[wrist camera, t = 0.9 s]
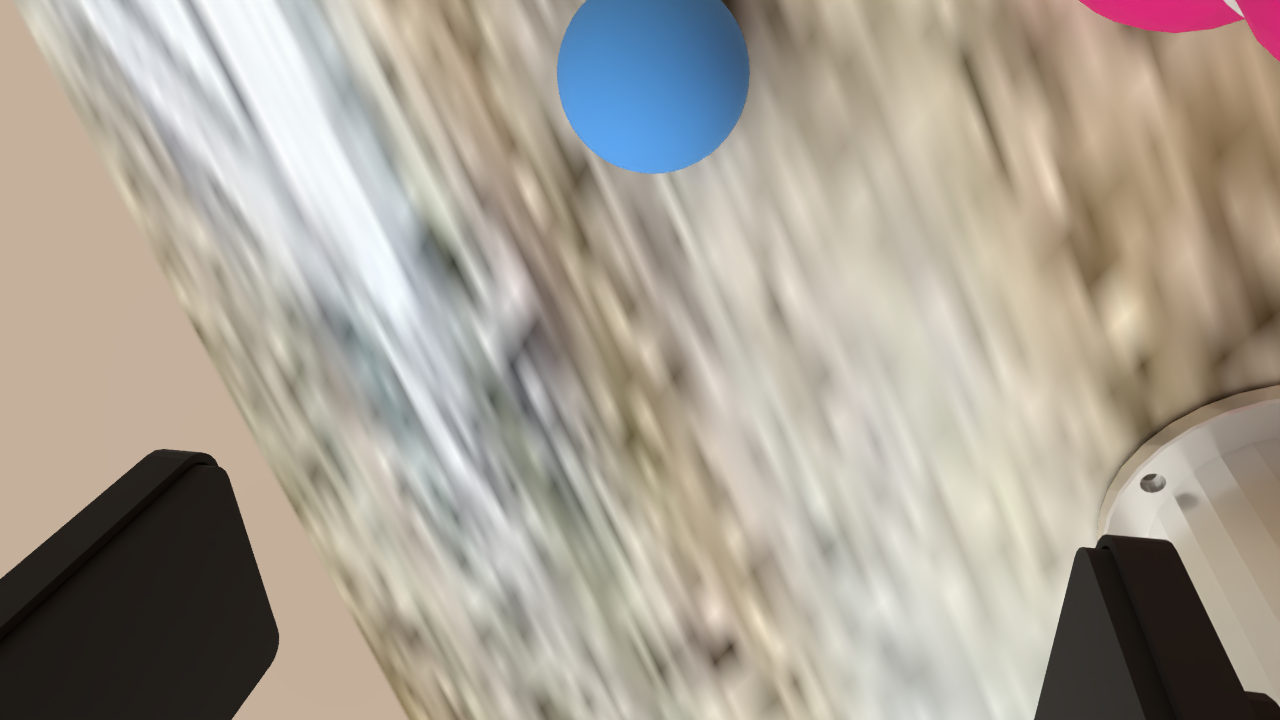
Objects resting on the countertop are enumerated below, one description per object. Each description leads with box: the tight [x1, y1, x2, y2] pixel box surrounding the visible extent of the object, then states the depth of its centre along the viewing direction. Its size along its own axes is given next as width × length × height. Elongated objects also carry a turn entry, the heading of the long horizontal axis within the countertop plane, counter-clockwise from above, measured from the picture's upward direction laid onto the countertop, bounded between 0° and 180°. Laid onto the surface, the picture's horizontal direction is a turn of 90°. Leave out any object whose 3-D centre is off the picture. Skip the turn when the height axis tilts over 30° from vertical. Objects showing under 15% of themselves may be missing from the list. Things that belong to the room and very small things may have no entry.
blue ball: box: [557, 0, 750, 174], centre depth 28 cm, size 6×6×6 cm
